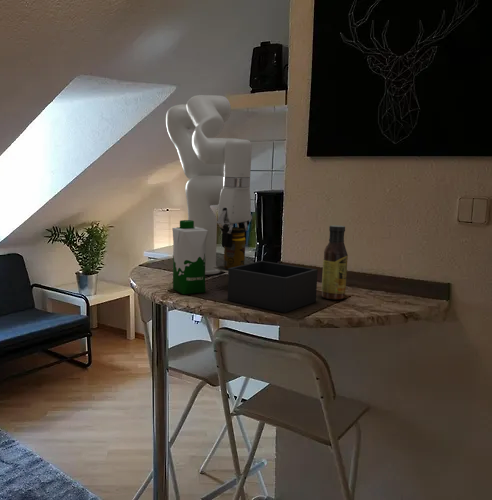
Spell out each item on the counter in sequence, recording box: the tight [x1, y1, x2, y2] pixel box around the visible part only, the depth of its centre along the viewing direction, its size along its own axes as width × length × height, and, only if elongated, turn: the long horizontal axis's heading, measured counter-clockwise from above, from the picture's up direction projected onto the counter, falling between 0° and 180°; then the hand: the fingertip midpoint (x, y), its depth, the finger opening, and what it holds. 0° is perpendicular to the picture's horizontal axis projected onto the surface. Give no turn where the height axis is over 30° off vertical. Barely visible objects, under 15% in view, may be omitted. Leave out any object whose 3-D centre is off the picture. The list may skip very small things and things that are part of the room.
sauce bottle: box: [321, 224, 349, 301], centre depth 158 cm, size 6×6×20 cm
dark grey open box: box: [227, 260, 319, 314], centre depth 155 cm, size 18×16×9 cm
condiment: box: [212, 226, 247, 273], centre depth 169 cm, size 7×8×12 cm
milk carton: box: [172, 219, 208, 295], centre depth 165 cm, size 9×9×20 cm
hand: (234, 244), depth 169 cm, fingers closed on condiment, 6 cm apart
